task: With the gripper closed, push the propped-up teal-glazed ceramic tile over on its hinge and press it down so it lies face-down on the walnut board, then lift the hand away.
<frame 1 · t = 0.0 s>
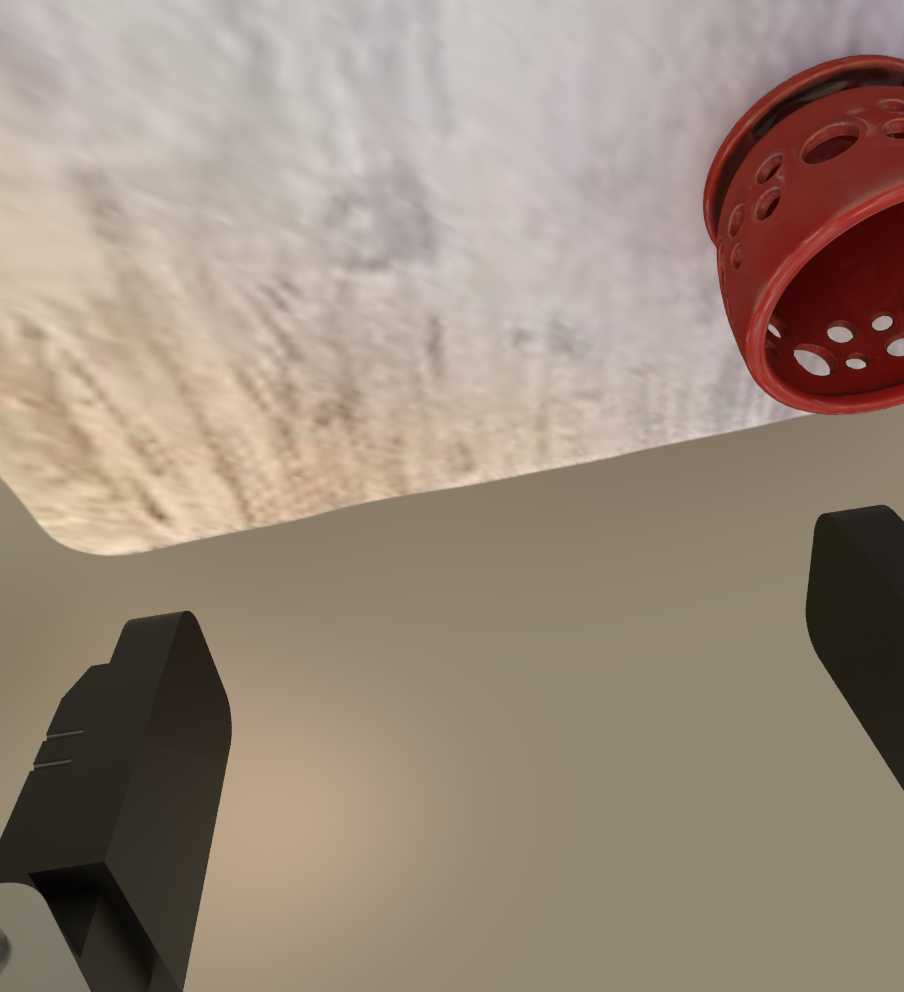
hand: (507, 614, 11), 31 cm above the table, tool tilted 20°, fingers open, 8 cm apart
plant pot: (801, 154, 42), on the table
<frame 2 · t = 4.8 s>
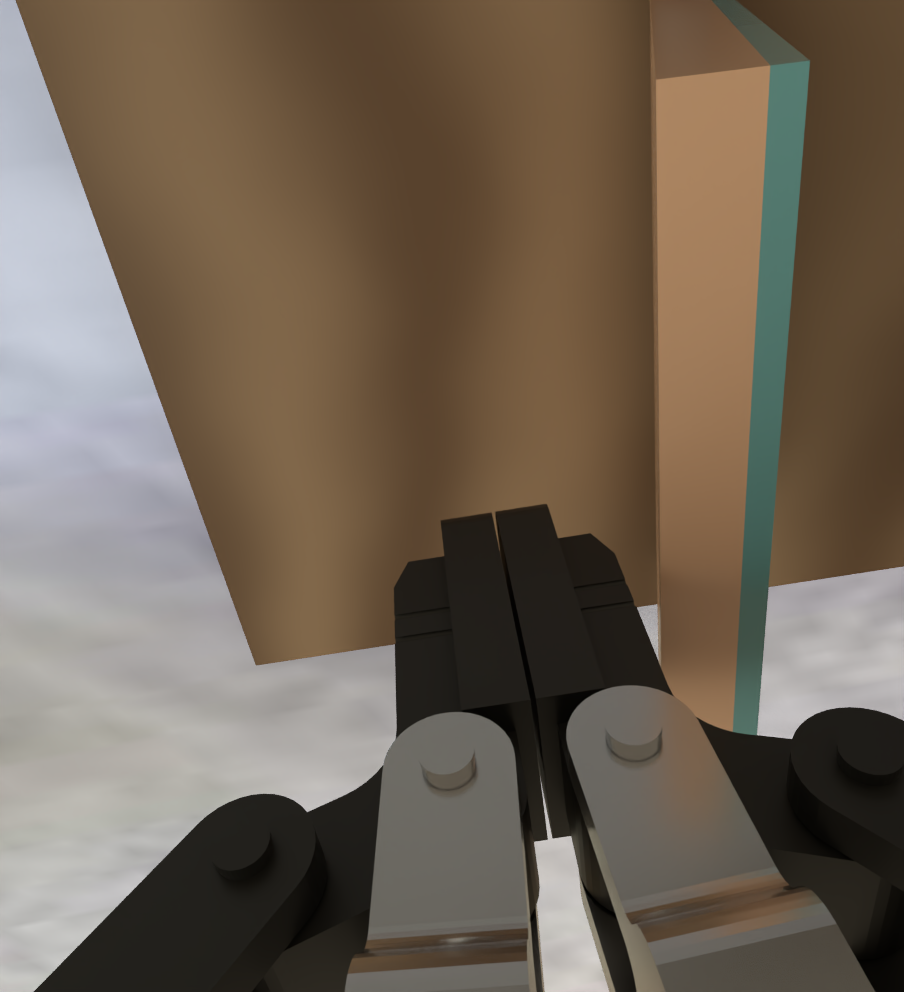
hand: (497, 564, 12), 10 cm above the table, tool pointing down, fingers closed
tile: (692, 422, 14), point 7 cm above the table, hinge at 75.3°, touching gripper
board: (655, 275, 20), on the table
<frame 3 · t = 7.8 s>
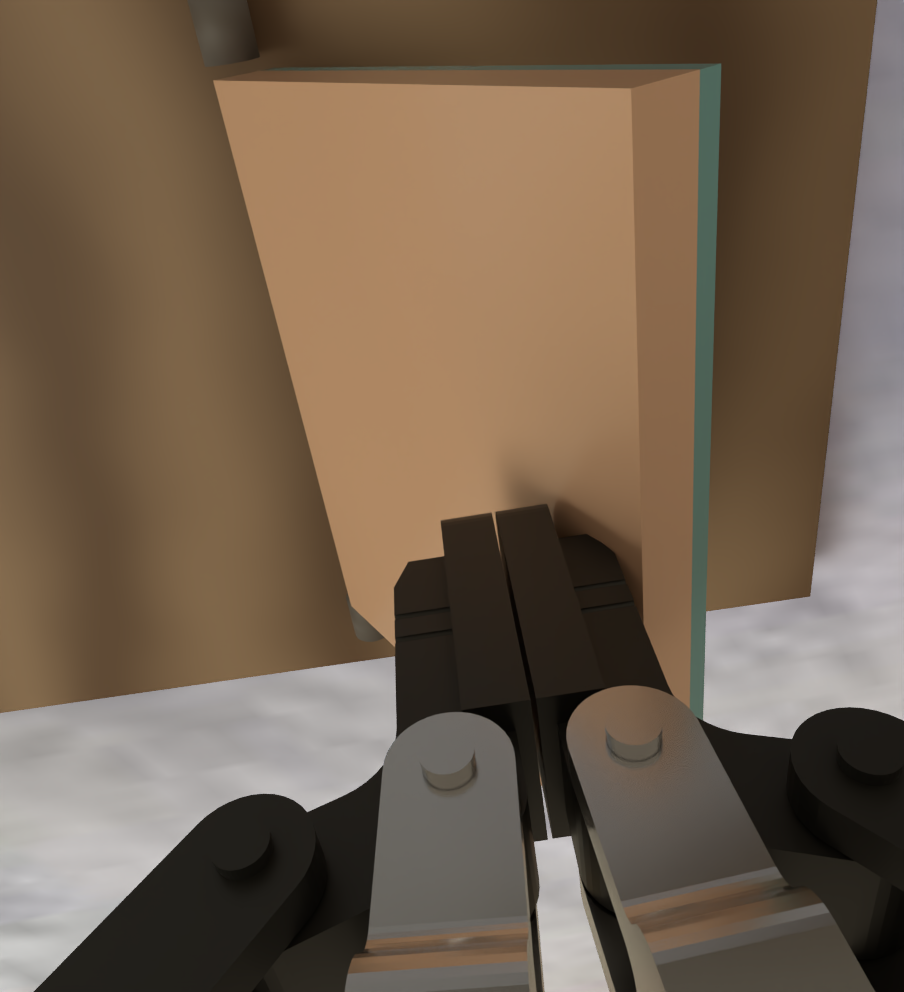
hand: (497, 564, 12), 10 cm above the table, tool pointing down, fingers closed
tile: (452, 457, 15), point 7 cm above the table, hinge at 122.4°, touching gripper
board: (318, 339, 20), on the table
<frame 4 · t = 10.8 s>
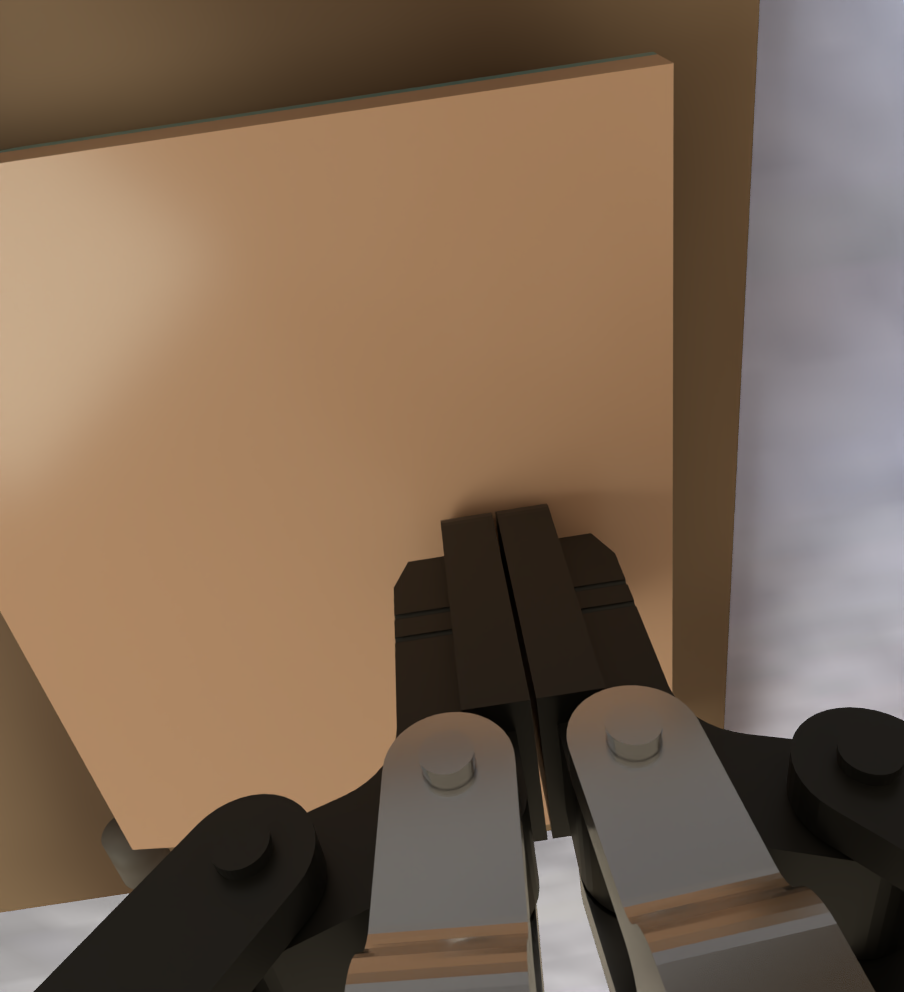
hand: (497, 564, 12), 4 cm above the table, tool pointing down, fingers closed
tile: (327, 551, 13), point 3 cm above the table, hinge at 174.2°, touching gripper
board: (38, 510, 15), on the table
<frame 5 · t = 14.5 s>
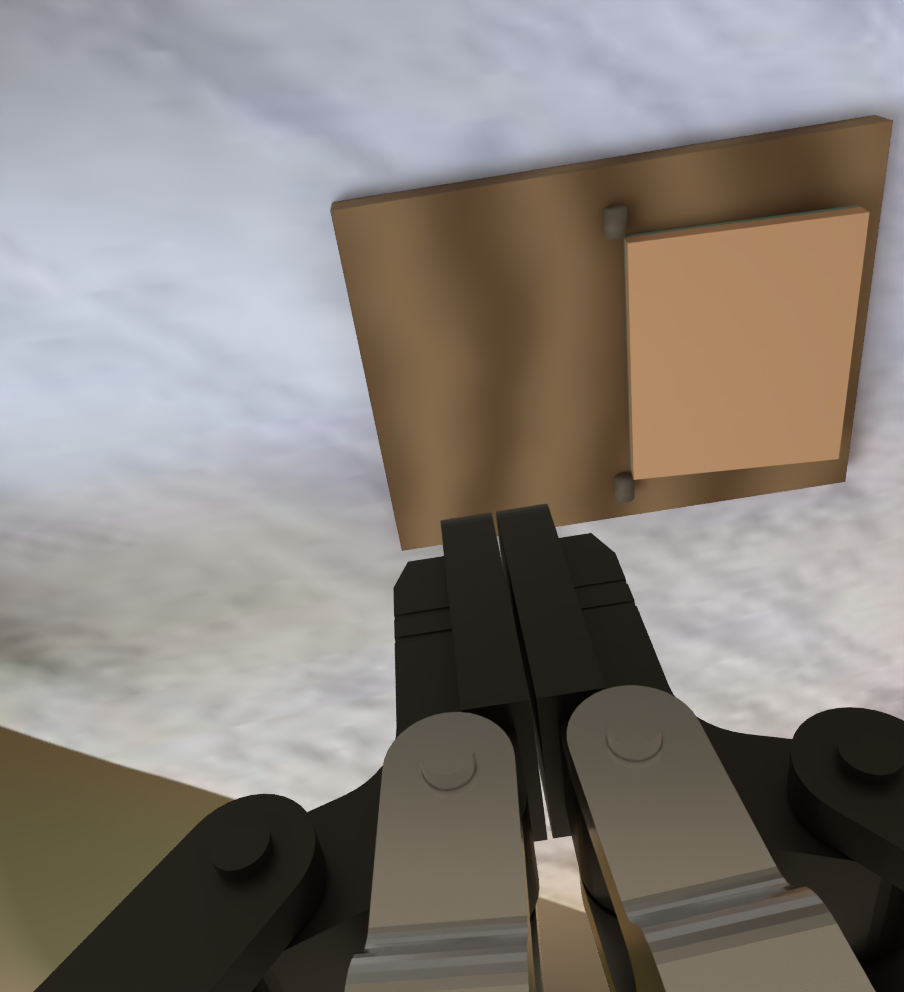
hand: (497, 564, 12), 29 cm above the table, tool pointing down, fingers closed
tile: (737, 353, 39), point 3 cm above the table, hinge at 174.2°
board: (610, 349, 42), on the table
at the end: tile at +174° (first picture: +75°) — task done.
